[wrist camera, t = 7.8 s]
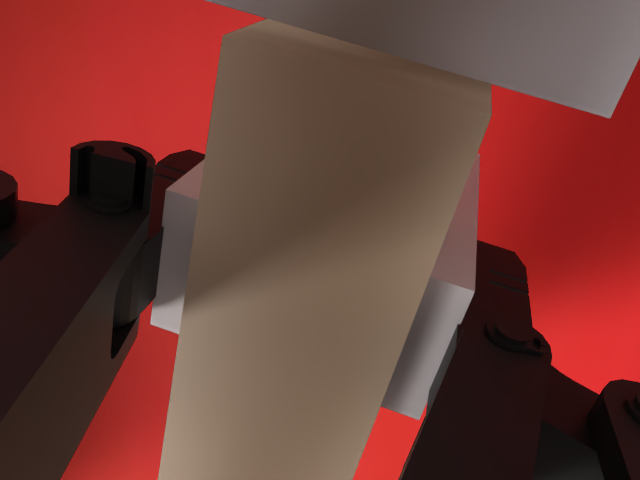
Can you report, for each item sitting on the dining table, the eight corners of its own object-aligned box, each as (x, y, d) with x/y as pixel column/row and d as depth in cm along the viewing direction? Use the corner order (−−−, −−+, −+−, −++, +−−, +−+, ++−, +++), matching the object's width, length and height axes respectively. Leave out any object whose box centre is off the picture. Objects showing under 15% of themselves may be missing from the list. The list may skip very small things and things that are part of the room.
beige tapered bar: (128, 542, 18) (68, 643, 16) (286, -788, 7) (154, -1262, 4) (349, 631, 18) (325, 752, 15) (966, -694, 6) (1343, -1194, 3)
